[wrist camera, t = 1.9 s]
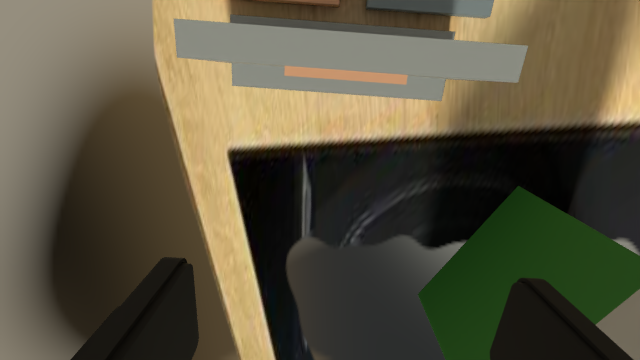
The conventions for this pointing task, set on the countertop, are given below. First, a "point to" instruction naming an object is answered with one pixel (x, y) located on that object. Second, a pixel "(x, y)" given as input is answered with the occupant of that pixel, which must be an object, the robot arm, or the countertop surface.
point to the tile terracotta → (308, 2)
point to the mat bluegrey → (436, 7)
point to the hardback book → (532, 262)
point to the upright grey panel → (345, 56)
